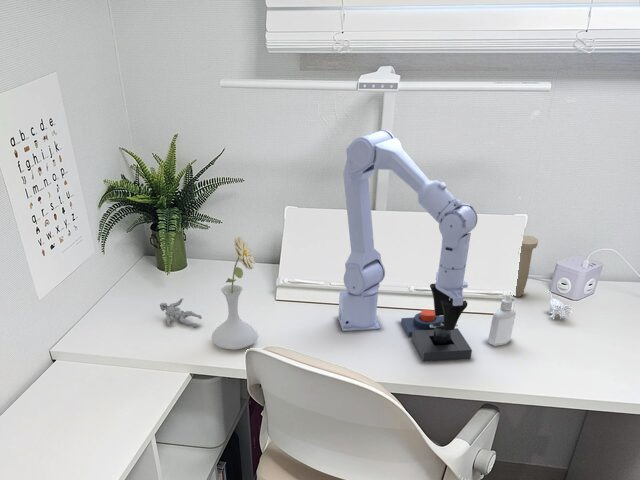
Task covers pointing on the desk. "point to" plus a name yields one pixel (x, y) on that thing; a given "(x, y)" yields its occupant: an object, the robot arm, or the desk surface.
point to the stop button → (427, 315)
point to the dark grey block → (441, 334)
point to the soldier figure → (178, 313)
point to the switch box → (419, 323)
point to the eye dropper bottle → (502, 323)
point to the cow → (558, 308)
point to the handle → (525, 262)
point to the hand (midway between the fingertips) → (444, 322)
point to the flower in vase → (236, 307)
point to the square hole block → (441, 346)
